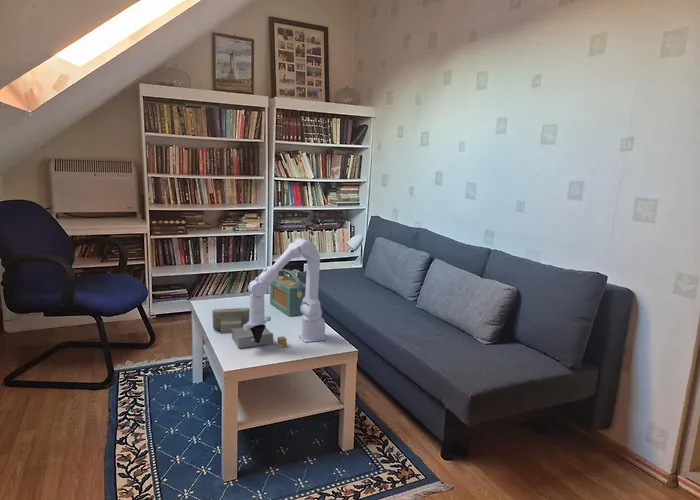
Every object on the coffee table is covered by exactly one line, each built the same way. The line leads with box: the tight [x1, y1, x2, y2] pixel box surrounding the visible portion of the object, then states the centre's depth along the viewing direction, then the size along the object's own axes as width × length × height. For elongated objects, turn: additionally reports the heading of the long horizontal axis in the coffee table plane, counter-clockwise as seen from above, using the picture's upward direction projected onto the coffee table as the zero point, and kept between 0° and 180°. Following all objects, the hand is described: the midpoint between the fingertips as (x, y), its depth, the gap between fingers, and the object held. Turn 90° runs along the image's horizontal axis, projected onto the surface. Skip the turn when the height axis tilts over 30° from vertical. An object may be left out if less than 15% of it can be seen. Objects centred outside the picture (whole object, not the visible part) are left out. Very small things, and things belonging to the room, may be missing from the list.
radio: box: [269, 269, 306, 317], centre depth 242 cm, size 26×11×20 cm, turn 32°
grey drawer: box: [237, 332, 274, 349], centre depth 198 cm, size 14×12×4 cm
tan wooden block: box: [276, 335, 288, 349], centre depth 194 cm, size 3×3×4 cm
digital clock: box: [211, 307, 250, 334], centre depth 209 cm, size 16×9×11 cm, turn 93°
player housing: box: [231, 326, 271, 347], centre depth 199 cm, size 14×12×4 cm
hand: (257, 342), depth 191 cm, fingers closed
